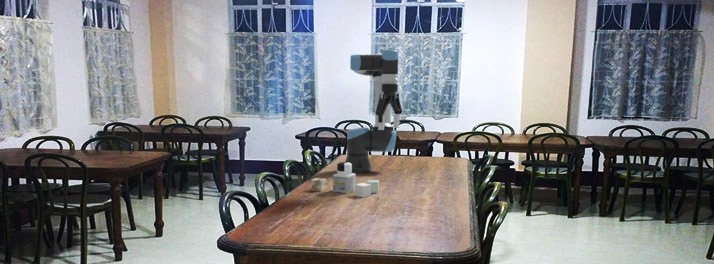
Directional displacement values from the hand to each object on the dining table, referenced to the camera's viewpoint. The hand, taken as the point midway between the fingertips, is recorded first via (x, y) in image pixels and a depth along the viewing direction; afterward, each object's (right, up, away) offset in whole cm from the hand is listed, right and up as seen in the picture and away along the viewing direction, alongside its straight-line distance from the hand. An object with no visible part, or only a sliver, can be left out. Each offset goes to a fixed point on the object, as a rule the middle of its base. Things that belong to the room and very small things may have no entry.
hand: (388, 128), depth 246 cm
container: (-21, -28, -9) cm, 36 cm away
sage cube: (-8, -29, -10) cm, 31 cm away
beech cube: (-32, -28, -7) cm, 43 cm away
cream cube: (-12, -29, -18) cm, 36 cm away
